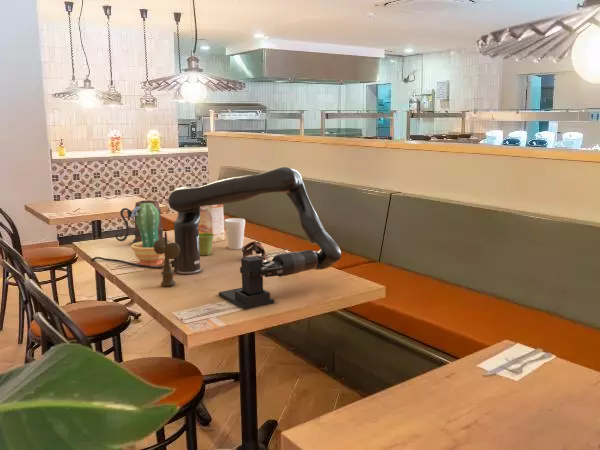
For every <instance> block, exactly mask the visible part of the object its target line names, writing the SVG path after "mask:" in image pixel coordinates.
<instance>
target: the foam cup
mask: <svg viewBox="0 0 600 450" xmlns="http://www.w3.org/2000/svg"><path fill="white" fill-rule="evenodd" d="M245 227H246V218H245V219H244V218H241V217H240V218H239V217H231V218H226V219H224V230H225V235H226V240H227V246H228V249H229V250H240V249H241V250H242V249H243V247H244V237H245Z"/></svg>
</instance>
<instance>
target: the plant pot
mask: <svg viewBox="0 0 600 450" xmlns="http://www.w3.org/2000/svg"><path fill="white" fill-rule="evenodd" d="M213 236H214V234H212V233H199V246H200V257H201V256H209V255H211V254H212V250H213V242H212V240H213Z"/></svg>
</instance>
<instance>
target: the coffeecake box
mask: <svg viewBox="0 0 600 450" xmlns="http://www.w3.org/2000/svg"><path fill="white" fill-rule="evenodd" d="M224 220H225V215H224V204H220V205H208V206H202V207H200V221H199V233H212V234H214V236H213V240H212V243H215V242H221V241H225V239H226V238H225V226H224Z"/></svg>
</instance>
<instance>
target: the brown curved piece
mask: <svg viewBox="0 0 600 450" xmlns="http://www.w3.org/2000/svg"><path fill="white" fill-rule="evenodd" d="M241 252H242V258H247V257H248V256H253V254H254V253H253V252H255V254H256V255H261V257H262V258H263V260H267V253H266V251H265V248H264V246H263V245H262V243H261V242H259V241H256V240H254V241H250V242H248V243H247V244H246V245H245V246H244V245H243V246H242V248H241Z"/></svg>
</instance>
